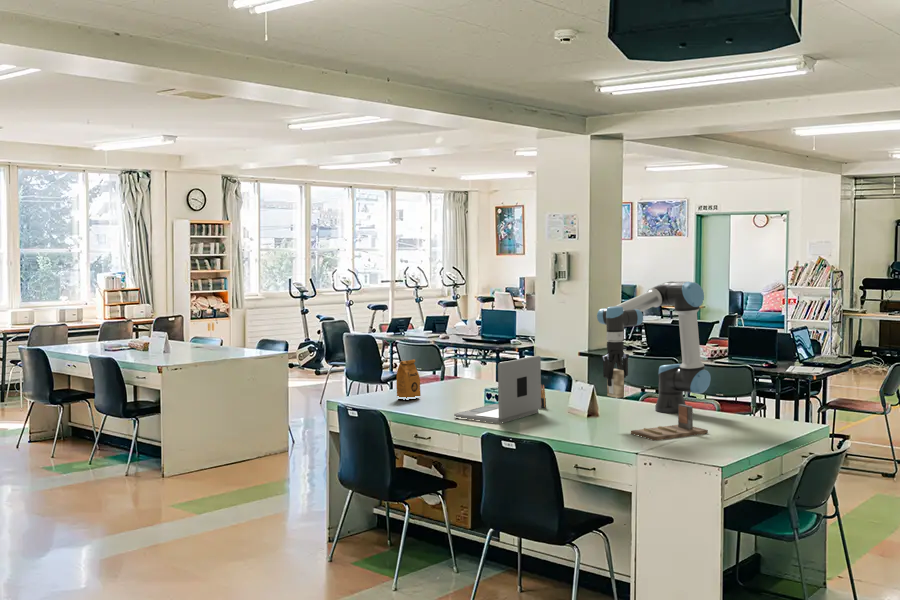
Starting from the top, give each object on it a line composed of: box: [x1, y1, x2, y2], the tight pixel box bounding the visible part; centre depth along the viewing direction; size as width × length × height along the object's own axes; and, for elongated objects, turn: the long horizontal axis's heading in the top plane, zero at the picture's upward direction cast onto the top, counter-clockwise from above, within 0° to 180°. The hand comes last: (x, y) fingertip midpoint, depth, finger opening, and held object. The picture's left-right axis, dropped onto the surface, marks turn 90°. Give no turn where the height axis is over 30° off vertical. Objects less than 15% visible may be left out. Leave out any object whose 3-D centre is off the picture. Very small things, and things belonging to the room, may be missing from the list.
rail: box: [630, 404, 709, 441], centre depth 389 cm, size 29×16×12 cm, turn 116°
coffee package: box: [395, 359, 422, 398], centre depth 493 cm, size 10×12×22 cm
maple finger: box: [606, 368, 625, 399], centre depth 403 cm, size 4×7×12 cm, turn 26°
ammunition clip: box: [540, 384, 547, 409], centre depth 463 cm, size 11×2×12 cm, turn 44°
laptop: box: [454, 355, 542, 424], centre depth 439 cm, size 36×28×29 cm
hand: (616, 392), depth 403 cm, fingers closed on maple finger, 4 cm apart
